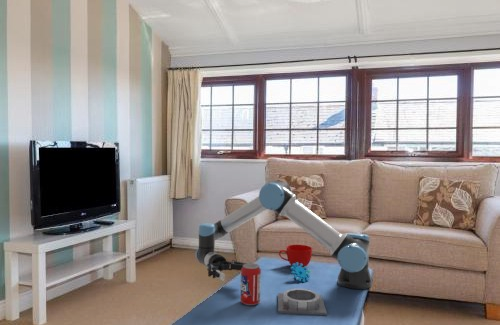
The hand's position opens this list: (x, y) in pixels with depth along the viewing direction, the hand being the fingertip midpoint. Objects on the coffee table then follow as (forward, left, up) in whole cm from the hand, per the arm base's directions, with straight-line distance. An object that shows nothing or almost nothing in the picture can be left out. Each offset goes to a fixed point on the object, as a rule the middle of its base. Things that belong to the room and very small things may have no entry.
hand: (238, 275), depth 173 cm
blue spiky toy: (-27, -23, -9) cm, 37 cm away
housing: (-25, +7, -8) cm, 28 cm away
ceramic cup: (-25, -43, -9) cm, 50 cm away
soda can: (-5, +7, -9) cm, 13 cm away
